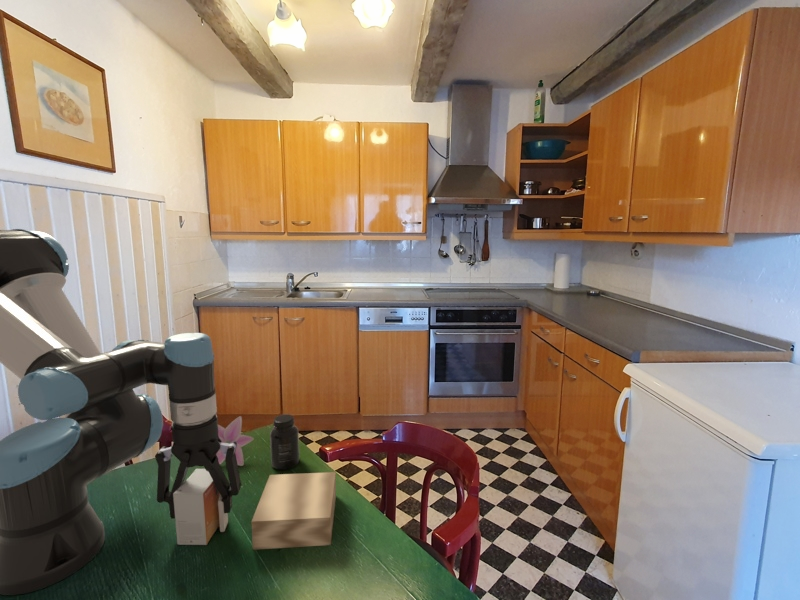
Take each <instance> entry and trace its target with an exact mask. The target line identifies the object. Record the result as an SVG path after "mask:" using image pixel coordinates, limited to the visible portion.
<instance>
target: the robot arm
mask: <svg viewBox="0 0 800 600" xmlns="http://www.w3.org/2000/svg"><path fill="white" fill-rule="evenodd" d="M68 259H69V257H68V255H67V253H66V251H65V248H64V247H63V246H62V244H61V243H60V242H59V241H58V240H57V239H56V238H54V237H53V236H51V235H50V234H48V233H46V232H43V231H39V230H28V229H24V228H23V229H21V228H13V229H0V363H1V364H2V365H3V366H4V367H5V368H6V369H8V370H9V371H10V372H12V373H13V374H14V375H15V377H16V376H17V378H18V379H20V381H19V383H18V385H17V386H18V387H17V395H18V399H19V402H20V404H21V405H22V406H23V407H24V411H25V412H26V413H27V415H29V416H30V417H32V418H33V419H36V420H39V421H38V422H35V423H32V424H29V425H27V426H24V427H21V428H20V429H17V430H15V431H13V432H12V433H10V434H8V435H6V436H5V437H3V438H2V439H1V440H0V595H3V596H16V595H23V594H29V593H33V592H36V591H38V590H41V589H44V588H47V587H50V586H52V585H54V584H56V583H58V582H61V581H63V580H64V579H66V578H68V577H70V576H72V575H73V574H75V573H76V572H77V571H80V569H82V568H84V567H85V566H86V565H87V564H88V563H89V562H91V561H92V560H93V559H94V557H96V556H97V554H98V553H99V552H100V550H101V549H102V547H103V545H104V544H105V540H106V532H105V525H104V523H103V521H102V520H101V519H100V517H98V514H97V513H96V511H95V509H94V508H93V507H92V505H91V504H90V502H89V497H88V489H87V487H88V486H87V485H89V484H90V483H91V482H93V481H95V480H96V479H98V478H101V477H102V476H104V475H106V474H107V473H110V472H111V471H113V470H114V469H116V468H118V467H120V466H122V465H123V464H125V463H127V462H129V461H131V460H132V459H135V458H138V457H139V456H140V455H142V454H143V453H144V452H146V451H147V450H149V449H151V448H152V447H154V446H155V445H156V444H157V443H158V441H159V440H160V438H161V436H162V433H163V432H162V431H163V427H164V417H163V413H162V409H161V408H160V405H159V404H158V402H157V401H156V399H154V398H153V397H152V396H149V395H148V394H146V393H138V394H137V393H136V392H135V391H134V389H136V388H138V387H141V386H144V385H147V384H155V385H163V386H167V389H168V399H169V400H168V401H169V412H170V420H171V421H172V423H171V434H172V435H171V436H172V437H171V438H172V442H173V443H172V445H171V446H170V447H167V446H162V447H160V449H158V451H157V453H156V454H155V456H154V458H155V460H156V463H157V485H156V486H157V488H156V501H157V503H161V504H162V503H167V504H168V506H169V508H168V509H169V516H170V518H171V520H172V519H173V520H175V510H174V498H173V493H174V492H175V491H176V490H177V489H178V488H179V487H180V486H181V485H182V484H183V483H184V482H185V481H186V476H187V474H188V471H189V468H193V467H204V469H206V471H208V472H209V474H210V476H211V478H212V479H213V481H214V483H215V485H216V487H217V489H218V491H219V493H220V495H221V496H220V498H219V500H218V507H219V521H220V525H219V531H220V533H224V532H225V531H226V530H227V529H226V528H227V526H228V523H229V515H228V514H230V512H231V510H232V508H233V496H238V495H239V493H240V490H241V487H242V481H241V475H240V472H239V471H240V470H239V465H238V464H237V459H236V454H235V451H236V446H237V443H236V442H235V441H233V442H231V443H230V444H229V443H222V441H221V440H220V438H219V436H218V425H219V422H218V415H217V412H218V407H217V394H216V384H215V383H216V382H215V355H214V350H213V344H212V339H211V337H210V336H209V335H208V334H207V333H202V332H183V333H178V334H174V335H171V336H169V337H167V338H166V339H165V341H164V342H160V341H159V342H158V341H150V340H145V339H133V340H132V339H131V340H129V339H128V340H124V341H122V342H120V343H119V344H117V346H115V347H113V348H112V350H110V351H106V352H102V353H101V352H100V350H99V348H98V346H97V345H96V343H95V342H94V340H93V338H92V337H91V335H90V333H89V332H88V330H87V328H86V327H85V325H84V324H83V322H82V320H81V319H80V317H79V316H78V313H77V312H76V310H75V309H74V307H73V305H72V304H71V302H70V300H69V298H68V296H67V295H66V294H65V291H64V290H63V287H64V286H65V284H66V282H67V279H66V277H67V275H68V274H69V269H70V264H69V263H68V262H67V261H68ZM62 416H64V417H62ZM40 420H41V421H43V422H41V421H40ZM219 450H221V451H222V452H223V456H226V458H225V460H224V461H225V466H226V471H227V475H228V478H227V476H226V473H225V472H224V470H223V467H222V466H221V464H219V462H218V457H217V455H216V454H217V452H218V451H219ZM173 456H174V457H175V458H176V459H177V460H178V461H179V466H178V468H177V473H176V476H175V479H174V481H173V485H172V487H171V491H170V485H171V484H170V482H171V481H170V480H171V465H172V463H171V461H172V459H171V458H172V457H173Z"/></svg>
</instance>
